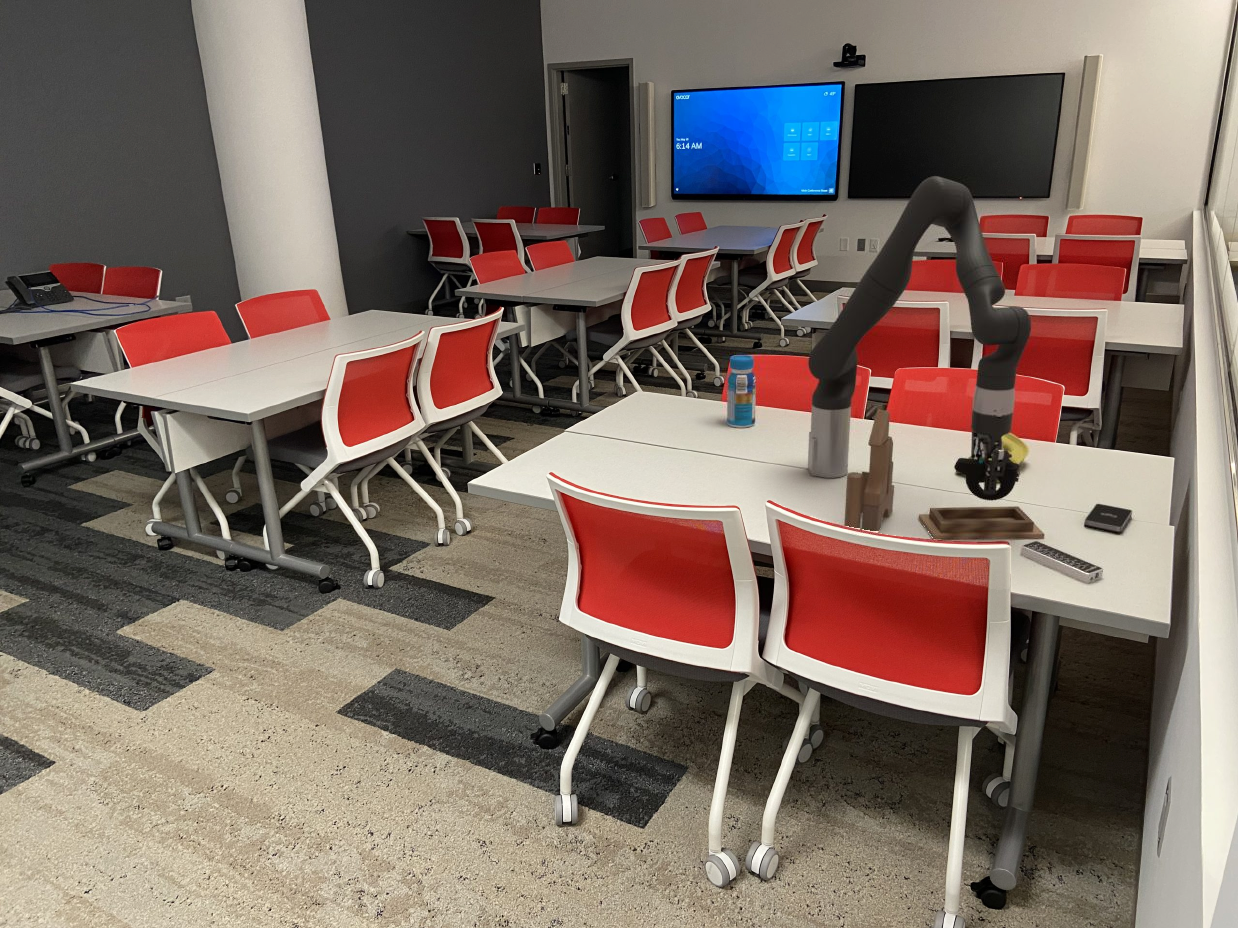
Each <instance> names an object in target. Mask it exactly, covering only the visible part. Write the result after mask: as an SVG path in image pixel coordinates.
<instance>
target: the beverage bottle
mask: <svg viewBox="0 0 1238 928" xmlns="http://www.w3.org/2000/svg"><path fill="white" fill-rule="evenodd" d="M754 364H755V362H754V356H752V355H748V354H736V355H732V356H730V358H729V368H730V372H729V374H728V376H727V379H726V380H727V384H728V385H727V387H726V394H727V395H726V397H727V399H726V401H727V402H726V403H727V404H726V405H727V409H726V410H727V411H726V412H727V415H726V423H727V425H728V426H729V427H732V428H737V429H743V428H744V429H745V428H751V427H754V425H755V424H756V402H757V401H756V398H757V397H756V396H757V394H756V393H757V386H756V382H757V379H756V376H755V374H754V372H753V369H754V366H755V365H754Z"/></svg>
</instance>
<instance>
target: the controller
mask: <svg viewBox="0 0 1238 928" xmlns="http://www.w3.org/2000/svg"><path fill="white" fill-rule="evenodd" d="M1011 457H1012V455H1011V454H1009V453H1008V455H1007V460H1006V465H1005V470H1004V475H1003V476H998V478H997V479H998V481H999V484H1000V485H999V487H998V489H996V492H995V493H992V494H986V493H985V492H984V488H982V487H981V485H980V483H979V481H980V479H981V478H983V477H985V475H986V474H985V465H984V464H983V462H982V460H979V459H969V457H968V458H967V457H959V458H958V459H957V460H956V462H955V464H954V467H953V468H954V470H955V471H957V472H959V473H961V475H963V476H964V477H965V482H966V487H967V489H968V490H969V492H970V493H971V494H973V495H974V496H975V497H977V498H978V499H980V500H984V501H997V500H1002V499H1003V498H1005V497H1007V496H1008V495H1009V494H1011V492H1012V491H1013V489H1014V487H1015V485H1016V483H1018V482H1019V478H1020V474H1021V473H1020V472H1019V470H1020V468H1021V467H1020V464H1017V463H1013V462H1012V461H1011V460H1010V459H1009V458H1011ZM989 461H991V460H989ZM990 465H991V464H990Z"/></svg>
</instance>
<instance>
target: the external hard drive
mask: <svg viewBox="0 0 1238 928" xmlns="http://www.w3.org/2000/svg"><path fill="white" fill-rule="evenodd" d="M1132 516H1133V510H1131V509H1129V508H1128V509H1127V508H1123V507H1118V506H1114V505H1113V506H1112V505H1108V504H1102V503H1095V505H1094V507H1093V508H1092V509H1091V510H1090V512H1089V513H1088V514H1087V516H1086V517H1085V518H1084V522H1083V523H1084V525H1083V526H1084V528H1086V529H1090V530H1096V531H1098V532H1103V533H1109V534H1114V535H1121V534H1122V533H1123V531H1124V529H1125V528H1126V526H1127V525H1128V523H1129V522H1130V520H1131V519H1132Z"/></svg>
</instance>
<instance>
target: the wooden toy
mask: <svg viewBox="0 0 1238 928" xmlns="http://www.w3.org/2000/svg"><path fill="white" fill-rule="evenodd" d="M890 417H891V412H890V410H885V409H884V410H881V409H878V410H877V411H876V413H875V417H874V420H873V424H872V429H871V431H870V432H871V433H870V435H869V440H868V446H869V447H870V451H869V468H868V471H861V472H853V471H852V472H847V474H846V490H845V505H844V507H845V509H844V526H849V527H854V528H860V529H861V530H862V529H864V530H870V531H879V530H880V531H881V529H882V522H883V518H887V517H888V518H890V516H891V514H892V513H893V509H894V508H893V507H894V497H895V495H894V494H895V485H894V484H893V475H894V474H893V473H894V461H893V455H894V454H893V453H894V441H893V437H892V436H890V435H889V431H890V420H891V419H890ZM861 519H862V520H861ZM880 528H881V529H880ZM880 531H879V532H880Z"/></svg>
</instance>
